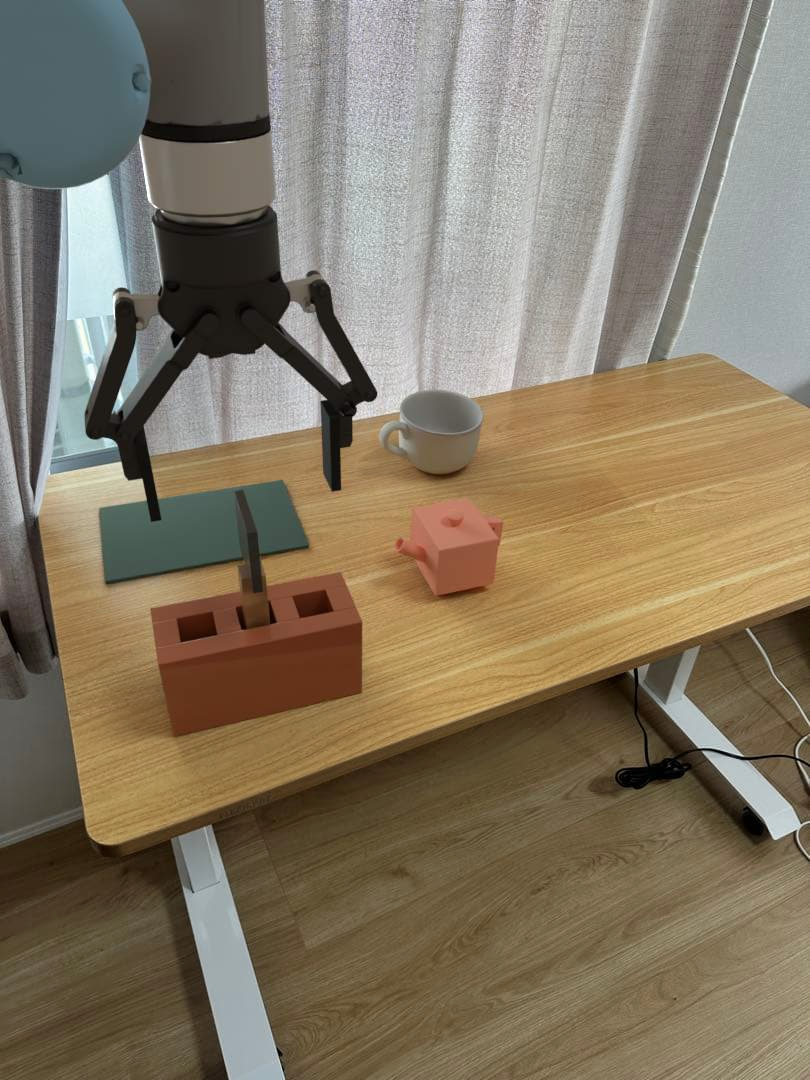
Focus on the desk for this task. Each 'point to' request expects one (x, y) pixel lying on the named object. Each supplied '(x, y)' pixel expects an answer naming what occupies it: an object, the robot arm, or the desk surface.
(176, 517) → the mat
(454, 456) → the teacup
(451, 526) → the pink cube teapot
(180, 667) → the holder
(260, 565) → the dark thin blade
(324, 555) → the desk surface
